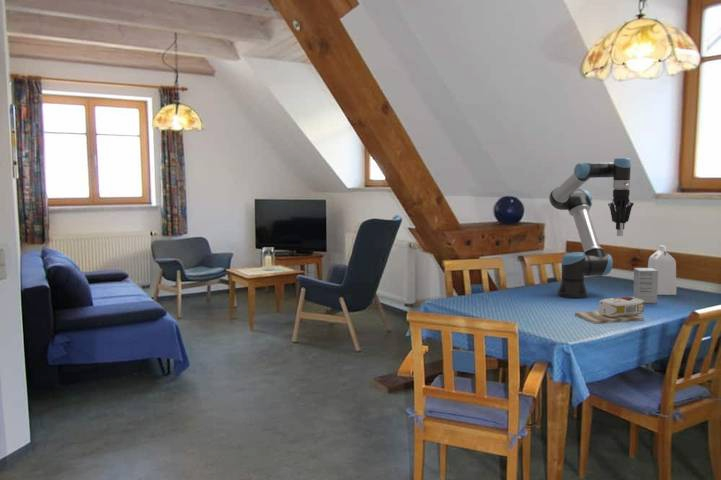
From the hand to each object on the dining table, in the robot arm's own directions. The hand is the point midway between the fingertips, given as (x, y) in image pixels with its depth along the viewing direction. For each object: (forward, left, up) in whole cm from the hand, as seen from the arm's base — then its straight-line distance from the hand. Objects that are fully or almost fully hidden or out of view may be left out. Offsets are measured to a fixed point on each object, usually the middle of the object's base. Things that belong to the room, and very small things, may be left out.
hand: (619, 235), depth 281 cm
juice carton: (+8, -26, -29) cm, 40 cm away
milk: (+23, +35, -35) cm, 54 cm away
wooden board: (-5, -34, -34) cm, 49 cm away
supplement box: (+13, +8, -35) cm, 38 cm away
